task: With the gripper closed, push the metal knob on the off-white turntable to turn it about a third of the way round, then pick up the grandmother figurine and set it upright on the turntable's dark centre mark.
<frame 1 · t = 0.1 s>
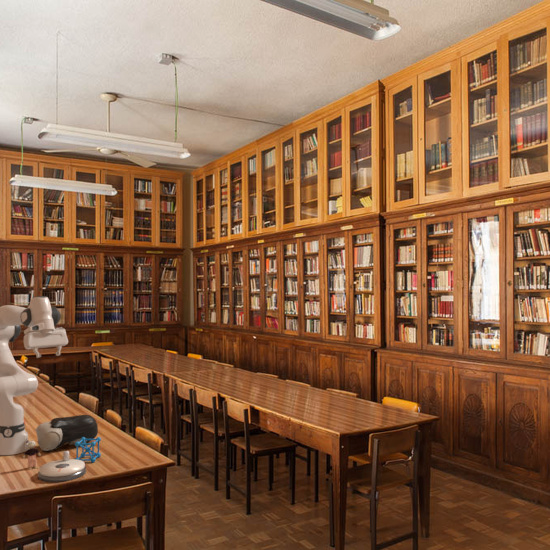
hand: (48, 356, 248), 52 cm above the table, fingers open, 8 cm apart
turntable base: (62, 474, 237), on the table
grandmother figurine: (31, 468, 245), on the table
head bust: (68, 446, 279), on the table
molecular structure: (87, 460, 257), on the table
turntable: (62, 463, 237), point 5 cm above the table, hinge at 0.0°
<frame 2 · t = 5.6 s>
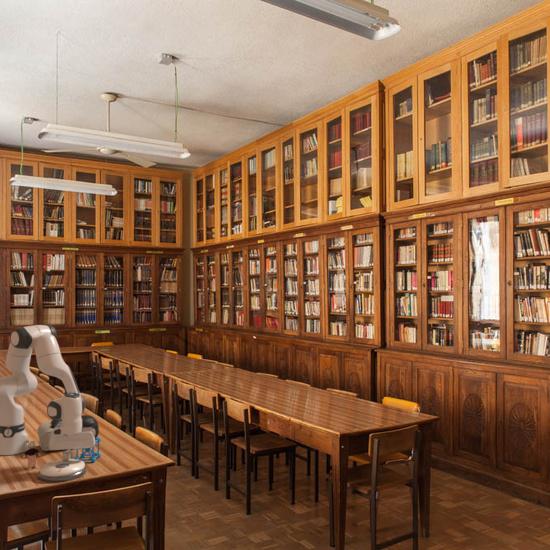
hand: (72, 458, 245), 5 cm above the table, fingers closed
turntable: (62, 463, 237), point 5 cm above the table, hinge at 1.5°, touching gripper
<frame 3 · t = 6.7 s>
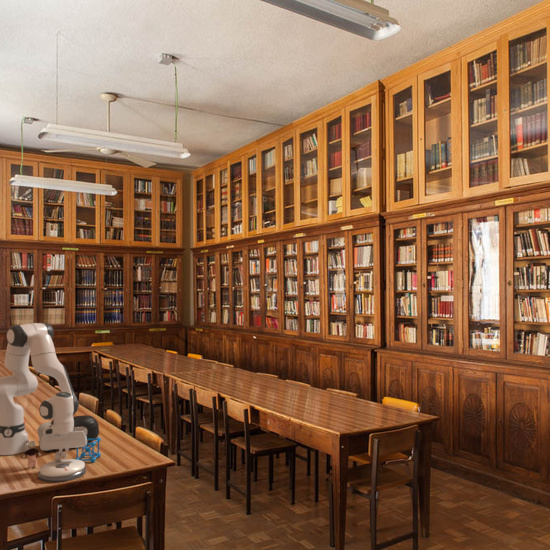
hand: (64, 457, 244), 5 cm above the table, fingers closed
turntable: (62, 463, 237), point 5 cm above the table, hinge at 25.5°, touching gripper
everything else where it was.
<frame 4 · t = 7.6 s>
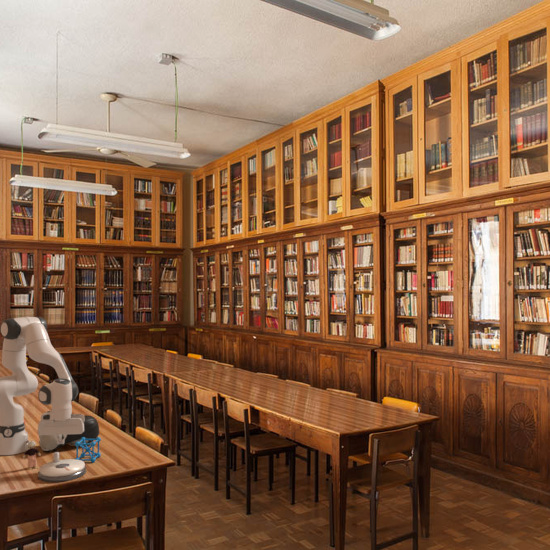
hand: (60, 443, 245), 12 cm above the table, fingers closed
turntable: (62, 463, 237), point 5 cm above the table, hinge at 31.4°
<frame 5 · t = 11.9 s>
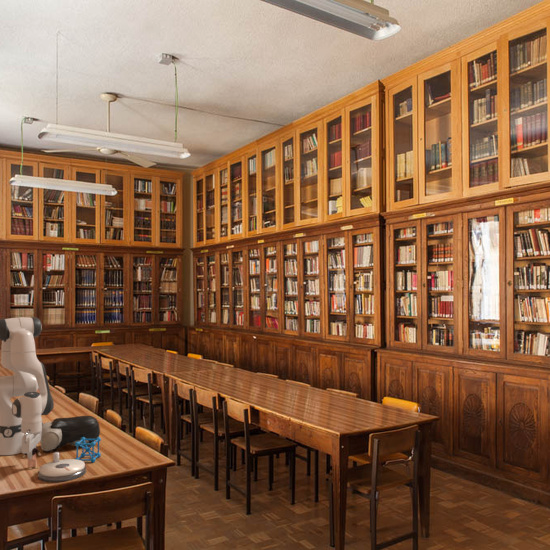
hand: (31, 457, 245), 5 cm above the table, fingers closed on grandmother figurine, 3 cm apart
grandmother figurine: (31, 468, 245), on the table, touching gripper
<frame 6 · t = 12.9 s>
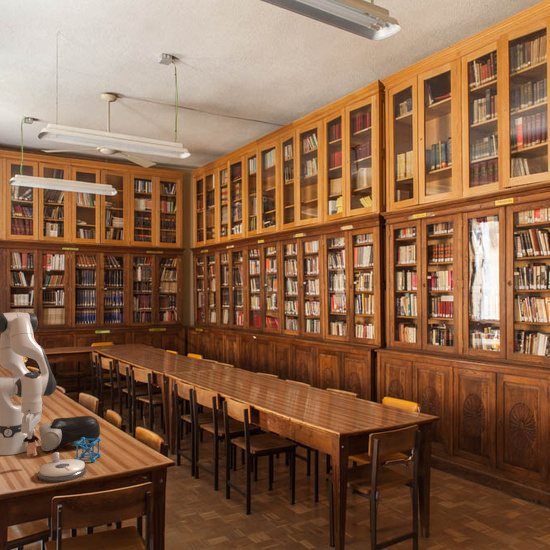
hand: (31, 437, 246), 14 cm above the table, fingers closed on grandmother figurine, 2 cm apart
grandmother figurine: (30, 455, 246), point 6 cm above the table, touching gripper
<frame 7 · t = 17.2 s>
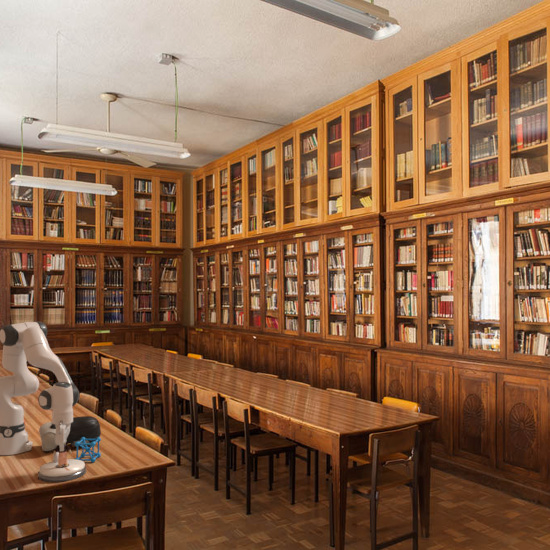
hand: (62, 449, 237), 11 cm above the table, fingers closed on grandmother figurine, 3 cm apart
grandmother figurine: (61, 466, 236), point 4 cm above the table, touching gripper, turntable
turntable: (62, 463, 237), point 5 cm above the table, hinge at 31.5°, touching grandmother figurine
when the fingers open (11 cm above the table, at t = 17.6 s): grandmother figurine stays where it is, resting on turntable.
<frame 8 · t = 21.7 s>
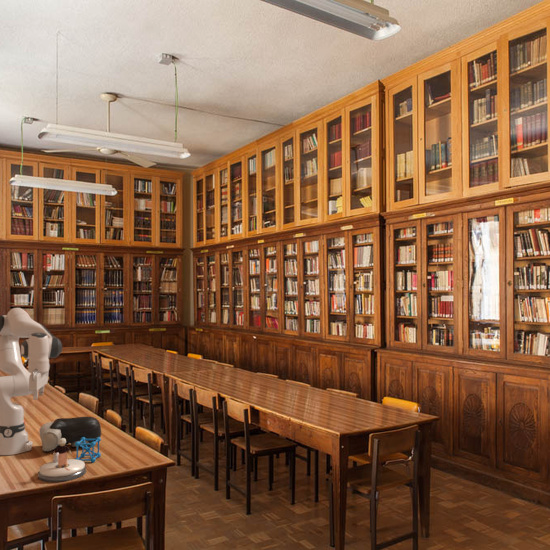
hand: (38, 397, 245), 33 cm above the table, fingers open, 8 cm apart
grandmother figurine: (61, 467, 236), point 4 cm above the table, touching turntable
at the end: turntable at +32° (first picture: +0°); grandmother figurine 1.3 cm from the turntable (horizontally); grandmother figurine tilted 0° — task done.
